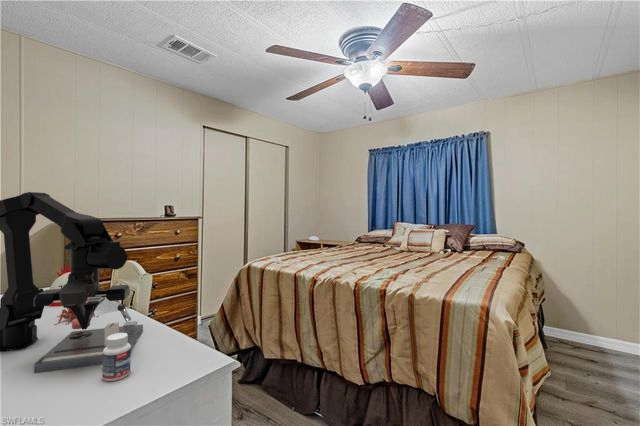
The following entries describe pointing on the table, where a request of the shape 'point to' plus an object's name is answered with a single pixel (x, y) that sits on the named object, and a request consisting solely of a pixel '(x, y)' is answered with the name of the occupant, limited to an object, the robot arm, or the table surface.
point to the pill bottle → (116, 357)
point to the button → (76, 324)
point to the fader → (111, 330)
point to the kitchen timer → (60, 283)
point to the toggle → (124, 312)
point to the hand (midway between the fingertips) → (84, 328)
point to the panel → (83, 348)
